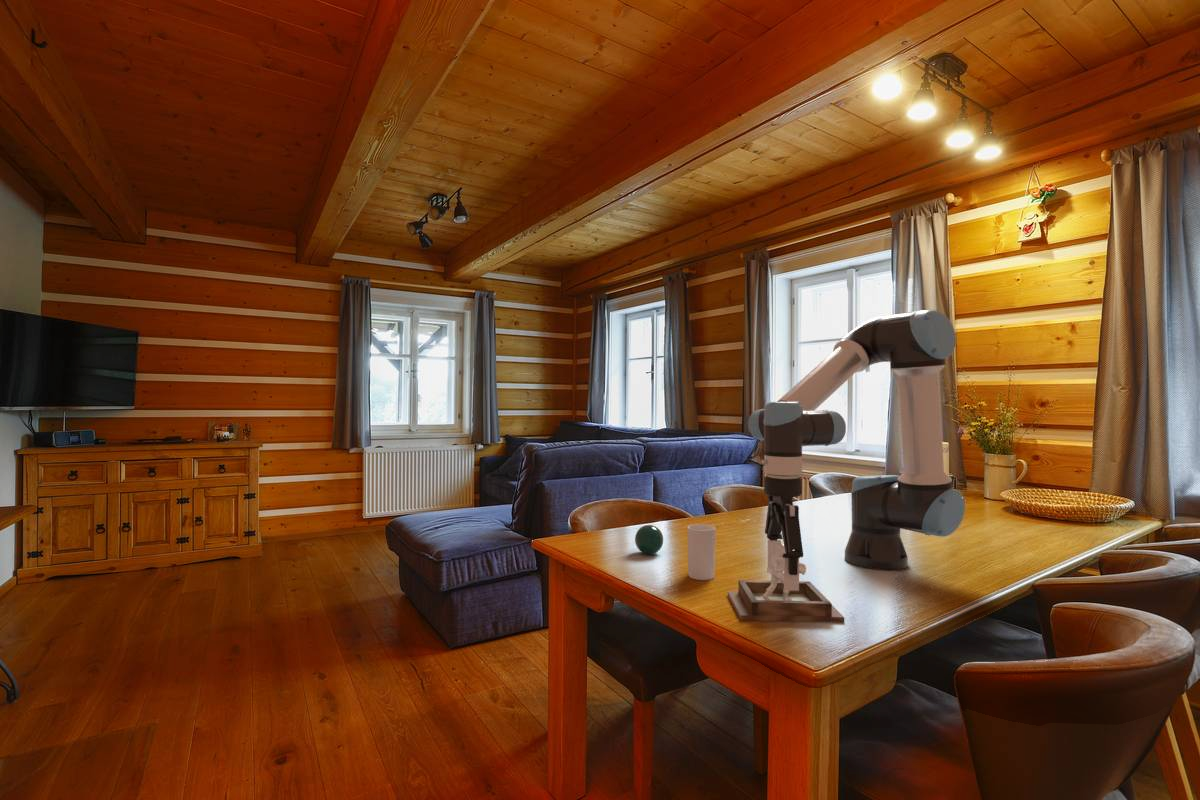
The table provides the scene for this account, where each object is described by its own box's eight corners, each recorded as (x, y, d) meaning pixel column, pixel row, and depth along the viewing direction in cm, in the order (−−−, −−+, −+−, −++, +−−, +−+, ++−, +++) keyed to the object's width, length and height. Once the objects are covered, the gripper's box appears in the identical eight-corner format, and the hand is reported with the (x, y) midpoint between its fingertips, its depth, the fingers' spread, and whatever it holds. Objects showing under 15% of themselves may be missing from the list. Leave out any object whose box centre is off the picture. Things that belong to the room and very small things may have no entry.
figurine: (756, 601, 118) (756, 544, 118) (792, 595, 122) (792, 539, 122) (771, 609, 114) (772, 549, 114) (808, 603, 117) (808, 545, 117)
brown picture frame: (819, 597, 124) (819, 581, 124) (844, 622, 110) (844, 604, 110) (727, 595, 125) (727, 579, 125) (740, 620, 111) (740, 602, 111)
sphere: (629, 554, 158) (629, 526, 158) (644, 548, 164) (644, 520, 164) (654, 559, 153) (654, 529, 153) (668, 552, 160) (668, 524, 160)
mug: (717, 581, 135) (717, 530, 135) (688, 580, 136) (688, 530, 136) (711, 568, 145) (711, 521, 145) (685, 567, 146) (685, 521, 146)
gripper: (751, 468, 130) (751, 562, 130) (780, 484, 106) (780, 600, 106) (784, 468, 130) (784, 562, 130) (821, 485, 105) (820, 600, 105)
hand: (782, 579), depth 118 cm, fingers open, 12 cm apart
